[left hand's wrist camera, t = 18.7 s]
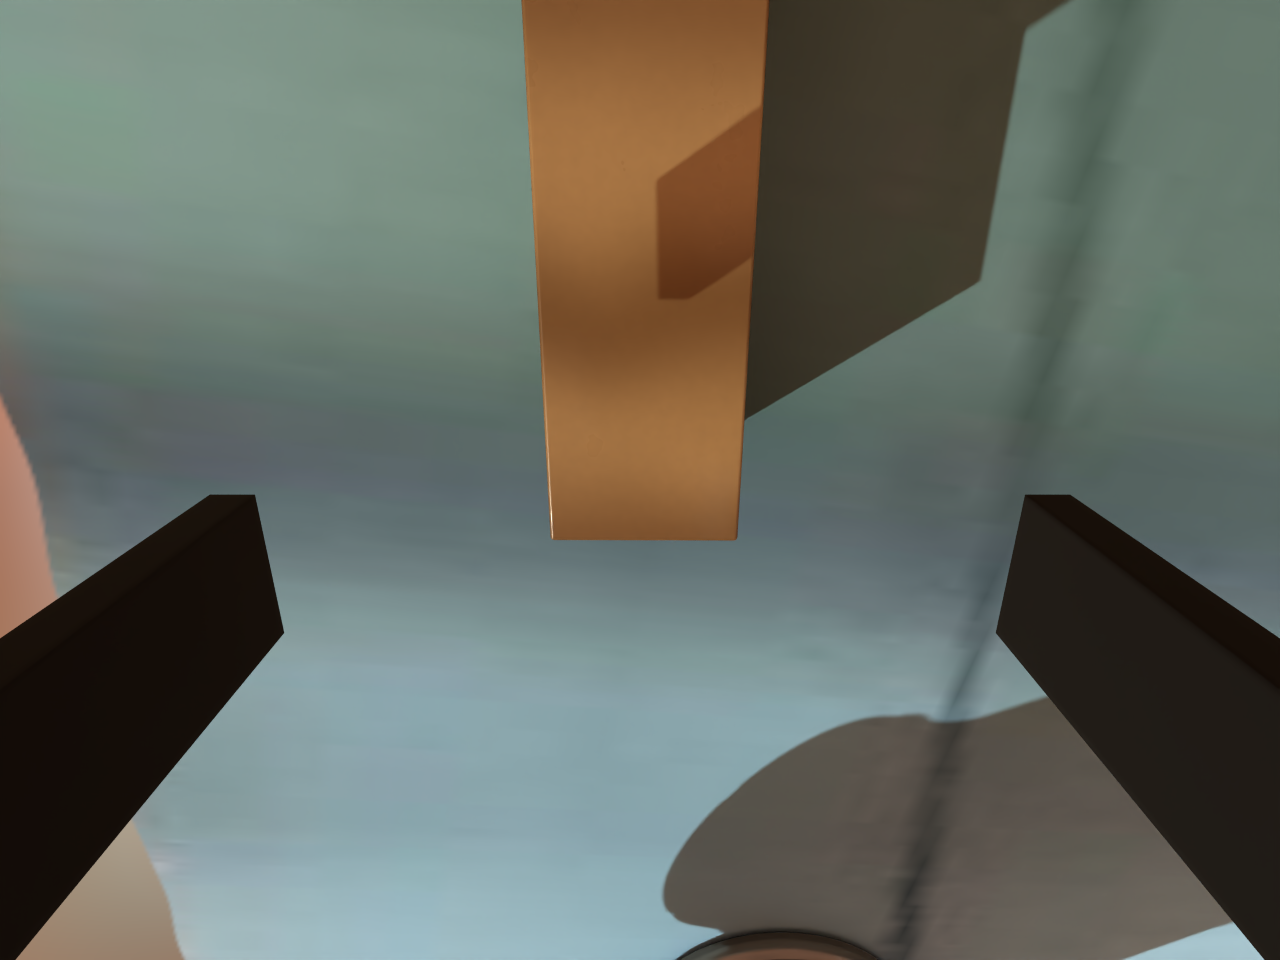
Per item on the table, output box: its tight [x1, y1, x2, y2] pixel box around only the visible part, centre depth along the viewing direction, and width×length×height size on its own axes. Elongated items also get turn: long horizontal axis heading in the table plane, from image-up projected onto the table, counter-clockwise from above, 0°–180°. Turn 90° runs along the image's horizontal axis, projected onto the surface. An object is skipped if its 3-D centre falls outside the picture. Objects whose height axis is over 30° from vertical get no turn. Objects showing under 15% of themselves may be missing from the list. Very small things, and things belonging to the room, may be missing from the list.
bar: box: [522, 0, 770, 540], centre depth 19 cm, size 26×5×8 cm, turn 0°
